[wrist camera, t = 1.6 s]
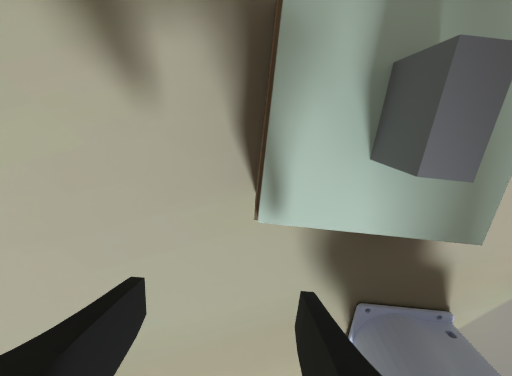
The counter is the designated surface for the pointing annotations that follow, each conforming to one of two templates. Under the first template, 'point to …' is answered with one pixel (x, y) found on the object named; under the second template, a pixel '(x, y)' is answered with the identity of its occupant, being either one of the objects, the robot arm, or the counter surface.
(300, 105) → the lid
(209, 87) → the counter surface
